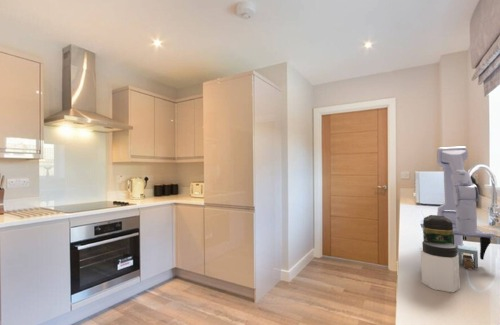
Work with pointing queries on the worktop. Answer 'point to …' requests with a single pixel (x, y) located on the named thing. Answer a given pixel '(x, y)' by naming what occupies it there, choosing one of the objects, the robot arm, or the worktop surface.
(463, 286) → the worktop surface
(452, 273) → the jar
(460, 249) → the light blue open box
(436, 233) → the coffee jar
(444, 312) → the worktop surface
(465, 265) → the brown board
